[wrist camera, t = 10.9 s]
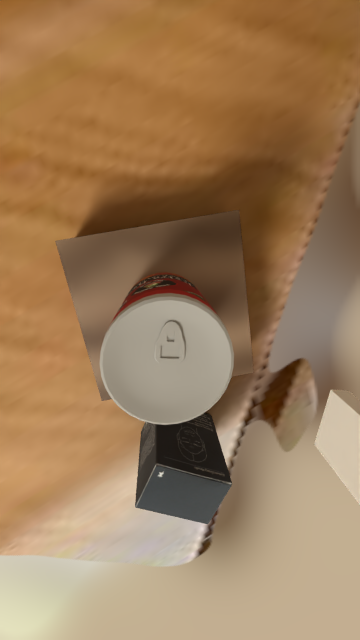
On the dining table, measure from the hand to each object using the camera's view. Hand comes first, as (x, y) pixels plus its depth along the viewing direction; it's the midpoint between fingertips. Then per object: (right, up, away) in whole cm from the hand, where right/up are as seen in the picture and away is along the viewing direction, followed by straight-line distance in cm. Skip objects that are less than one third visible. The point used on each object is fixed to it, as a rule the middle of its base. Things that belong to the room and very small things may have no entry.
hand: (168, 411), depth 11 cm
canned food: (-1, +4, +15) cm, 16 cm away
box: (0, -10, +25) cm, 27 cm away
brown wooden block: (-1, +6, +20) cm, 21 cm away
